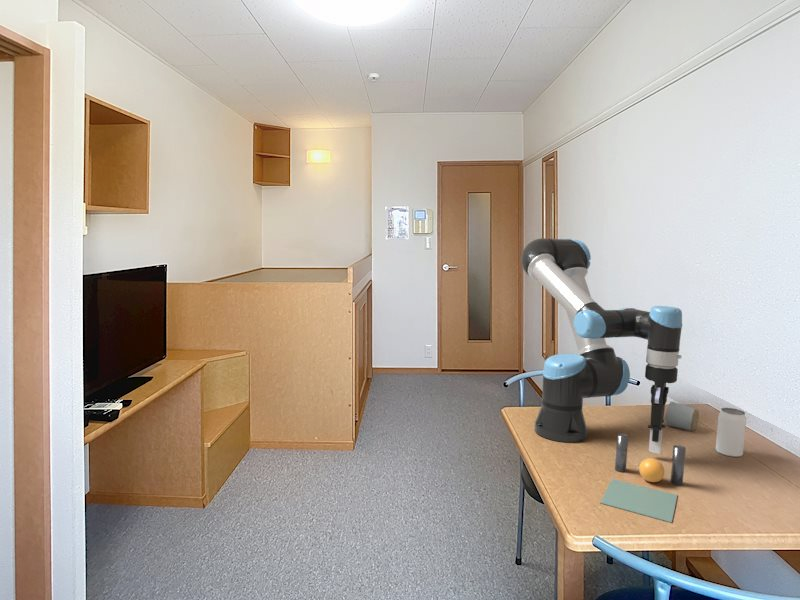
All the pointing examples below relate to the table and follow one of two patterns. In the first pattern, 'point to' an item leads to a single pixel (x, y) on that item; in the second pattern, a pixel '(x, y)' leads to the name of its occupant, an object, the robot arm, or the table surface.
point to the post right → (678, 465)
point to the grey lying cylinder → (681, 416)
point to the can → (731, 432)
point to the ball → (651, 470)
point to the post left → (621, 452)
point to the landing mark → (640, 500)
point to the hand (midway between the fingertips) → (654, 451)
